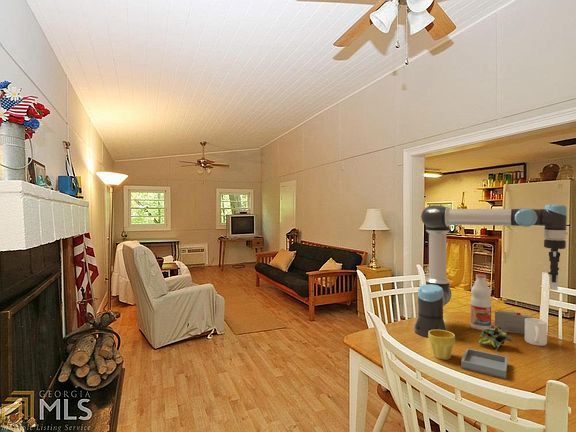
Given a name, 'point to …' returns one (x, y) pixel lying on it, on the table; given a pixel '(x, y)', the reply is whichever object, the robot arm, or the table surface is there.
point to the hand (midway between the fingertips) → (553, 286)
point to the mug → (535, 331)
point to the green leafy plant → (494, 336)
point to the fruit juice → (480, 304)
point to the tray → (485, 363)
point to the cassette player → (511, 321)
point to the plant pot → (441, 343)
